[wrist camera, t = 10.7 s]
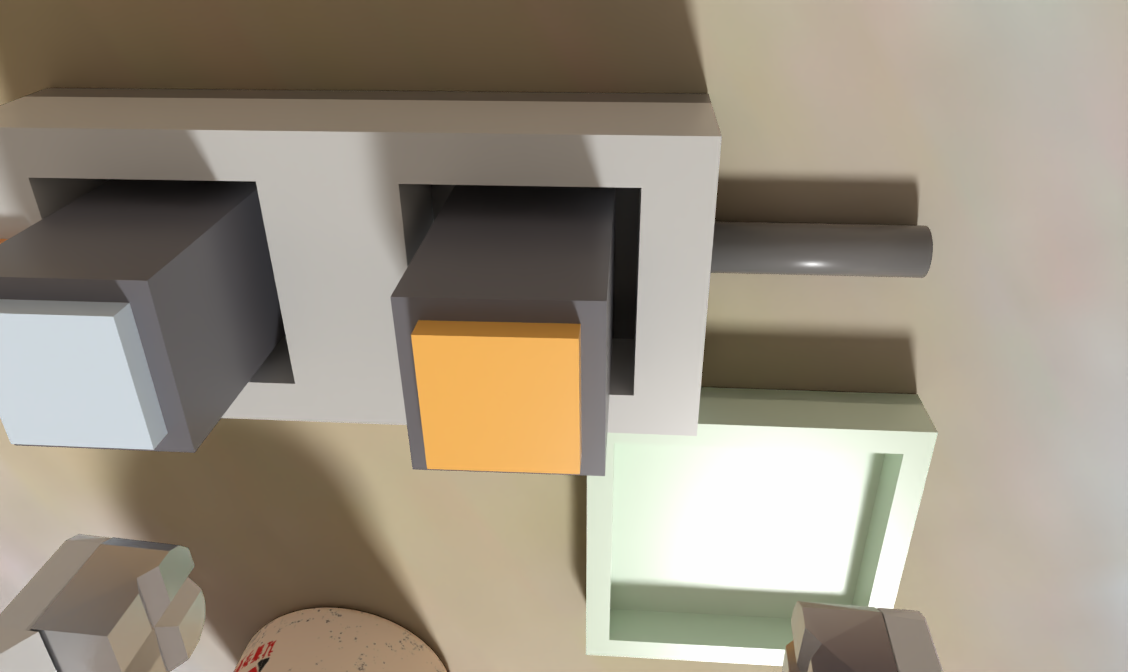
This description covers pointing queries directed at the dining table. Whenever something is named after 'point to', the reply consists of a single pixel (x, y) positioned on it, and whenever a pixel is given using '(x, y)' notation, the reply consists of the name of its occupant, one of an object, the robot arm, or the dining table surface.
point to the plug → (510, 331)
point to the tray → (751, 521)
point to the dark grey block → (135, 315)
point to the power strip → (413, 201)
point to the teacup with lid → (336, 645)
